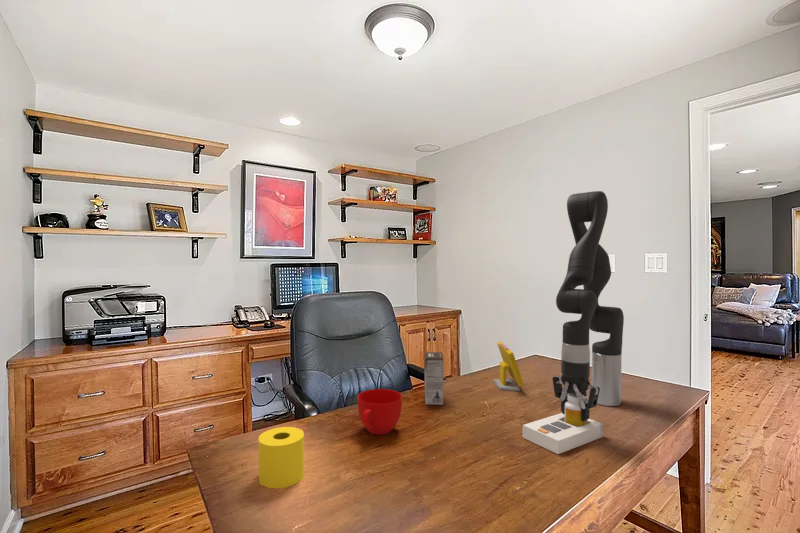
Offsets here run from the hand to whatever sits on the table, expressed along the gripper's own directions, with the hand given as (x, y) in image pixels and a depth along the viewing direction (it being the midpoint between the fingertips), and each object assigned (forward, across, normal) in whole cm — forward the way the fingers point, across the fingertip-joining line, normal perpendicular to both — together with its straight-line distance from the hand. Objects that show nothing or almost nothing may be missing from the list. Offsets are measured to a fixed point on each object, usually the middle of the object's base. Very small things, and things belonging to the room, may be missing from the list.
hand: (574, 417), depth 119 cm
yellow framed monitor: (+5, +41, -16) cm, 44 cm away
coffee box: (+5, +43, +18) cm, 47 cm away
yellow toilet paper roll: (+5, +21, +78) cm, 81 cm away
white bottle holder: (+5, 0, +5) cm, 7 cm away
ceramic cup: (+5, +30, +48) cm, 57 cm away
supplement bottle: (+4, 0, 0) cm, 4 cm away
